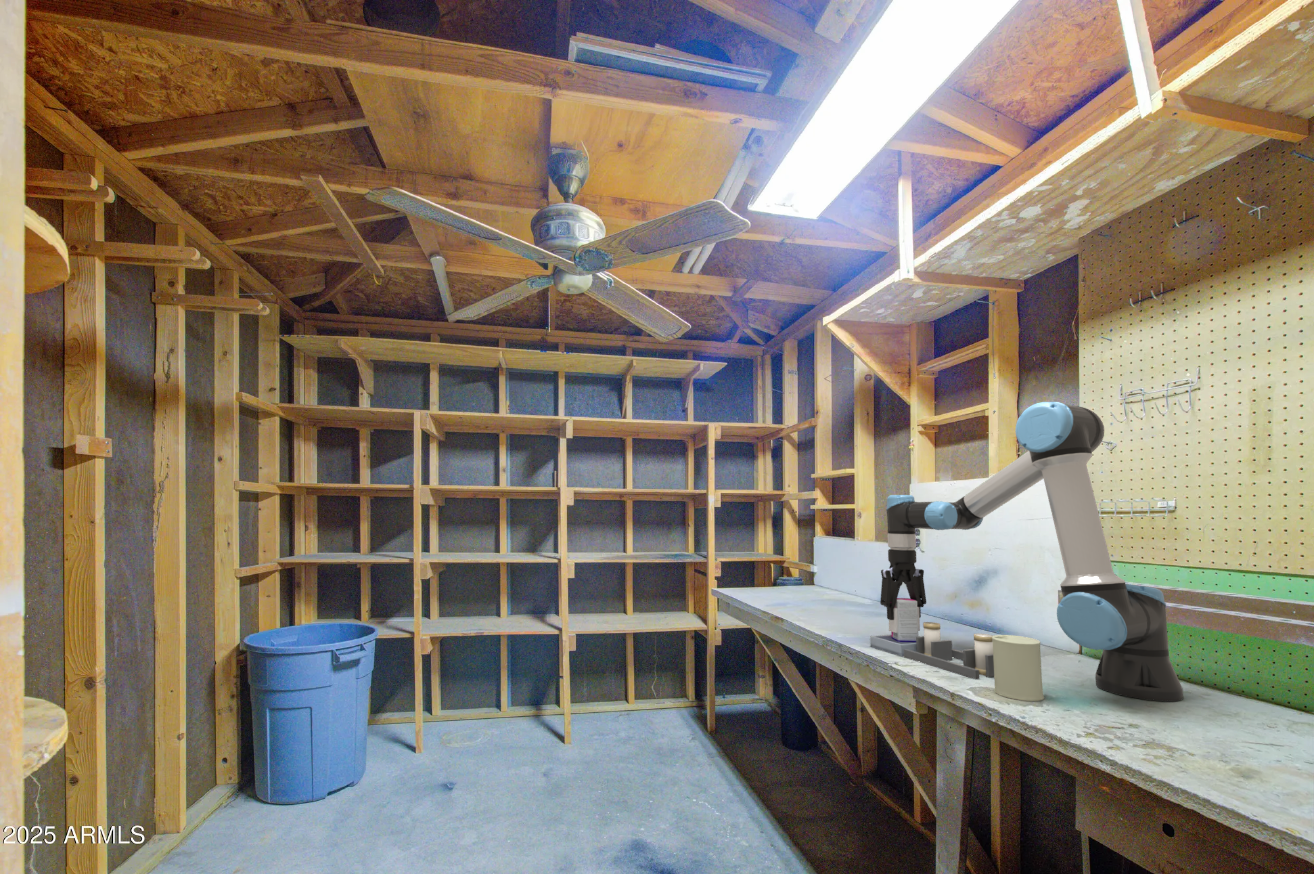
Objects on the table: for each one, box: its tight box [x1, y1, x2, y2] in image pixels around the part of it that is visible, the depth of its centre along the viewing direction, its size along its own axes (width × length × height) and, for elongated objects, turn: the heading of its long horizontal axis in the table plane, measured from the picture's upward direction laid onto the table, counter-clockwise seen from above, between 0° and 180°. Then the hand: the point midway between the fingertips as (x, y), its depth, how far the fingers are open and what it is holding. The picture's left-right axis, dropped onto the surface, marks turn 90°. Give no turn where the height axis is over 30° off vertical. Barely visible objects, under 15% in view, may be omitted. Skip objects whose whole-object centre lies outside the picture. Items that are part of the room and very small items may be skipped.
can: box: [992, 634, 1045, 702], centre depth 130 cm, size 9×9×12 cm
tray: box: [869, 634, 921, 658], centre depth 171 cm, size 12×14×3 cm
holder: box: [903, 635, 994, 680], centre depth 154 cm, size 22×14×5 cm, turn 22°
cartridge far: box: [922, 621, 942, 656], centre depth 162 cm, size 4×4×9 cm
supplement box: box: [890, 597, 920, 643], centre depth 171 cm, size 6×6×12 cm
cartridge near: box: [973, 632, 993, 676], centre depth 147 cm, size 4×4×9 cm
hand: (904, 630), depth 171 cm, fingers closed on supplement box, 7 cm apart
